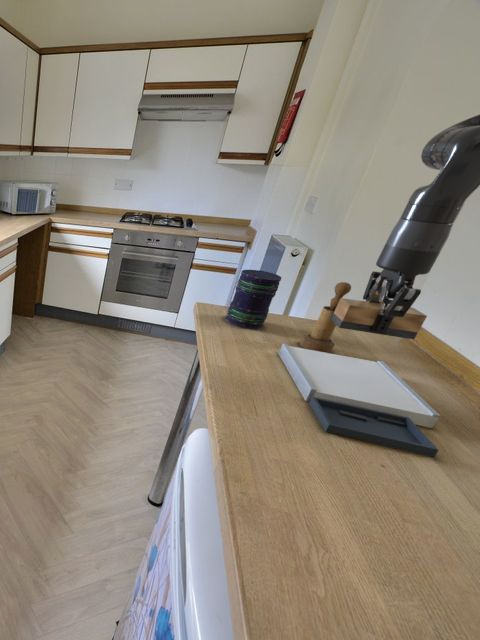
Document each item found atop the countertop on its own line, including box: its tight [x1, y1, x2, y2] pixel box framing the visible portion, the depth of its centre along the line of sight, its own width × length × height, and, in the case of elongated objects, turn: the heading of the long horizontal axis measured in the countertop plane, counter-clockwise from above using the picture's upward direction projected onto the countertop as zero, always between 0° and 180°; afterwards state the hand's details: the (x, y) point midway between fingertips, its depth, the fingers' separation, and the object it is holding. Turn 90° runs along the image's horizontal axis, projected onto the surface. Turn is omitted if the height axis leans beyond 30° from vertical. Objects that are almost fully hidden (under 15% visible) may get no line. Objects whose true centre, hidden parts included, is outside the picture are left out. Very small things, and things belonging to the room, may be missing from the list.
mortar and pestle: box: [299, 281, 352, 354], centre depth 104 cm, size 7×6×18 cm
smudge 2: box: [376, 416, 406, 427], centre depth 78 cm, size 4×1×1 cm, turn 67°
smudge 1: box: [339, 410, 368, 422], centre depth 79 cm, size 4×1×1 cm, turn 60°
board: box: [278, 343, 441, 429], centre depth 90 cm, size 20×24×3 cm
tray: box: [308, 397, 439, 458], centre depth 76 cm, size 15×10×2 cm
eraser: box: [331, 297, 428, 340], centre depth 83 cm, size 12×5×5 cm, turn 67°
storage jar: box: [224, 269, 282, 330], centre depth 119 cm, size 10×10×15 cm
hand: (370, 327), depth 84 cm, fingers closed on eraser, 5 cm apart
